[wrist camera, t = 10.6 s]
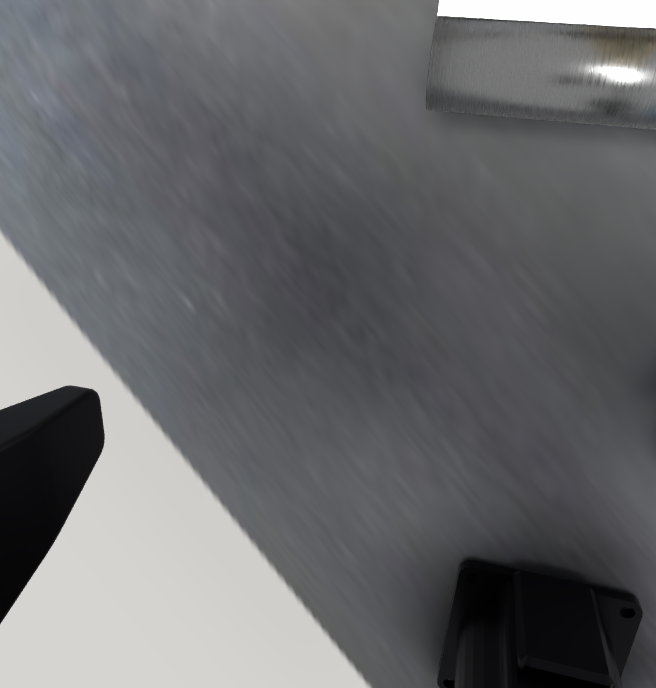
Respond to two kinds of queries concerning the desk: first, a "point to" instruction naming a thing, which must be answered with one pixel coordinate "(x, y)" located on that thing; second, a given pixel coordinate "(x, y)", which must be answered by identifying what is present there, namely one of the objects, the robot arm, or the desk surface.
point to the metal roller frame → (546, 60)
